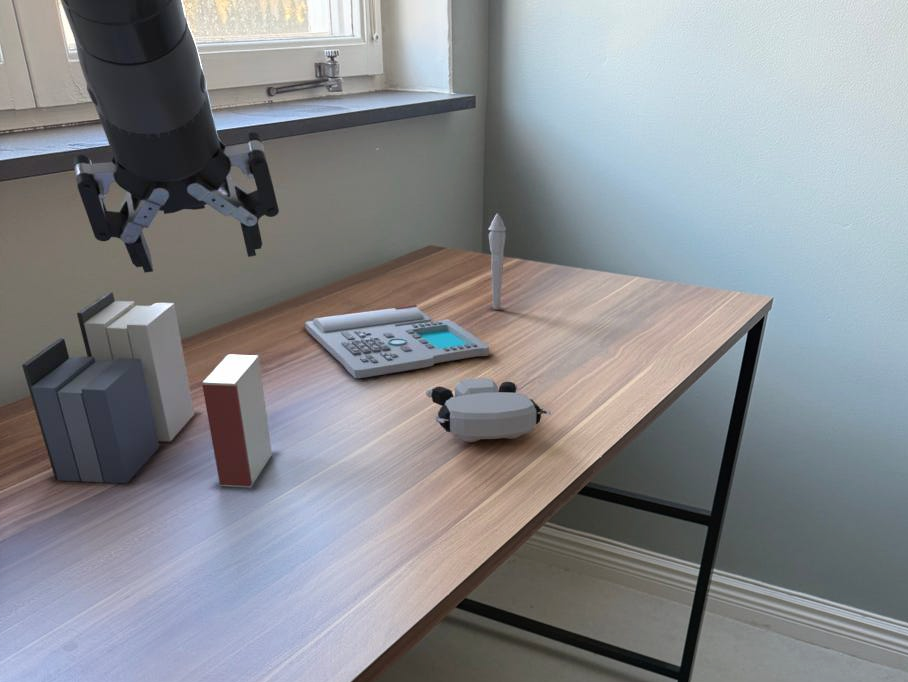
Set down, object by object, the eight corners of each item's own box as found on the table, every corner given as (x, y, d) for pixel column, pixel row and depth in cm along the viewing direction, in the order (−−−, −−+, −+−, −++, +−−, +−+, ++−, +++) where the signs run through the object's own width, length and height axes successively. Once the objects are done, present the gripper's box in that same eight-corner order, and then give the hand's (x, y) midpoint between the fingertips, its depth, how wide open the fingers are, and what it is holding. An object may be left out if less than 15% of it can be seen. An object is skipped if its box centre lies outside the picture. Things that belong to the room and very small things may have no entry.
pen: (501, 312, 143) (503, 215, 134) (485, 310, 143) (486, 214, 135) (506, 308, 145) (508, 212, 136) (490, 306, 145) (491, 210, 137)
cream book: (220, 486, 94) (201, 382, 88) (243, 453, 101) (227, 354, 94) (250, 488, 94) (234, 384, 87) (272, 454, 100) (258, 355, 94)
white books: (107, 439, 103) (76, 313, 95) (135, 411, 110) (108, 291, 101) (170, 442, 103) (144, 315, 95) (194, 414, 109) (172, 293, 101)
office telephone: (302, 312, 134) (428, 296, 141) (304, 330, 136) (428, 313, 142) (354, 360, 117) (494, 339, 124) (355, 380, 118) (494, 358, 125)
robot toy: (421, 413, 112) (443, 456, 100) (419, 376, 110) (442, 415, 97) (518, 406, 114) (551, 447, 102) (519, 369, 112) (553, 407, 99)
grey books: (52, 480, 95) (19, 366, 88) (89, 444, 102) (61, 336, 95) (127, 483, 94) (99, 369, 87) (159, 447, 102) (136, 339, 95)
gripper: (244, 33, 64) (275, 208, 79) (32, 57, 61) (106, 232, 77) (264, 116, 62) (292, 279, 77) (45, 144, 59) (118, 306, 75)
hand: (199, 256), depth 77 cm, fingers open, 8 cm apart
